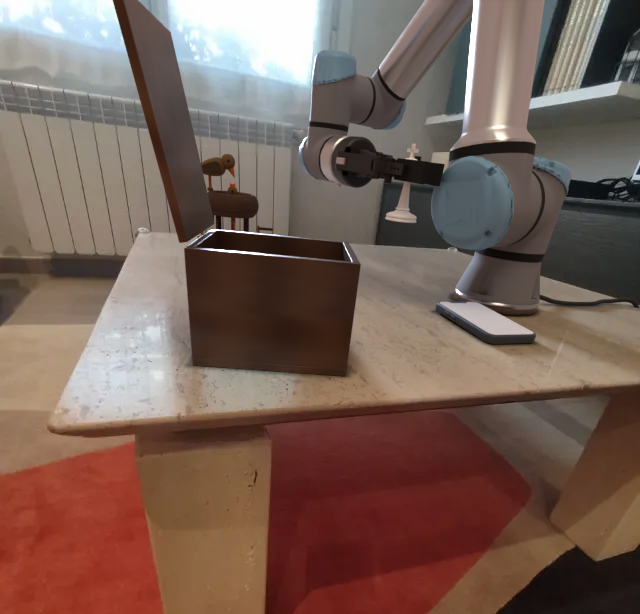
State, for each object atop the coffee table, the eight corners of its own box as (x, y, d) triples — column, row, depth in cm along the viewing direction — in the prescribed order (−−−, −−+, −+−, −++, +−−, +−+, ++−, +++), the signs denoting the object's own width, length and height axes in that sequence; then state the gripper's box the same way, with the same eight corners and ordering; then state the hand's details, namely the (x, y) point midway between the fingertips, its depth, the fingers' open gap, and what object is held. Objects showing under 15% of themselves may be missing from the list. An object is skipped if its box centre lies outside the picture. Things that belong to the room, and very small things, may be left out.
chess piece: (408, 223, 63) (423, 143, 57) (379, 218, 65) (391, 140, 60) (421, 222, 66) (436, 146, 61) (393, 217, 68) (405, 144, 63)
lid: (170, 31, 41) (162, 32, 41) (118, -21, 30) (107, -19, 30) (214, 224, 50) (208, 225, 50) (187, 242, 39) (179, 243, 39)
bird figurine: (195, 281, 74) (185, 146, 65) (191, 272, 84) (183, 153, 74) (279, 282, 79) (281, 157, 70) (267, 274, 88) (268, 161, 79)
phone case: (537, 345, 62) (474, 310, 75) (541, 335, 62) (477, 301, 74) (487, 346, 60) (431, 310, 72) (490, 336, 59) (433, 300, 72)
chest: (337, 334, 58) (348, 241, 52) (345, 376, 46) (360, 264, 40) (215, 324, 57) (211, 228, 50) (192, 365, 45) (183, 247, 39)
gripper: (380, 189, 80) (465, 208, 63) (309, 181, 74) (381, 200, 57) (388, 142, 76) (481, 148, 59) (313, 130, 70) (393, 133, 53)
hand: (432, 174), depth 58 cm, fingers closed on chess piece, 2 cm apart
